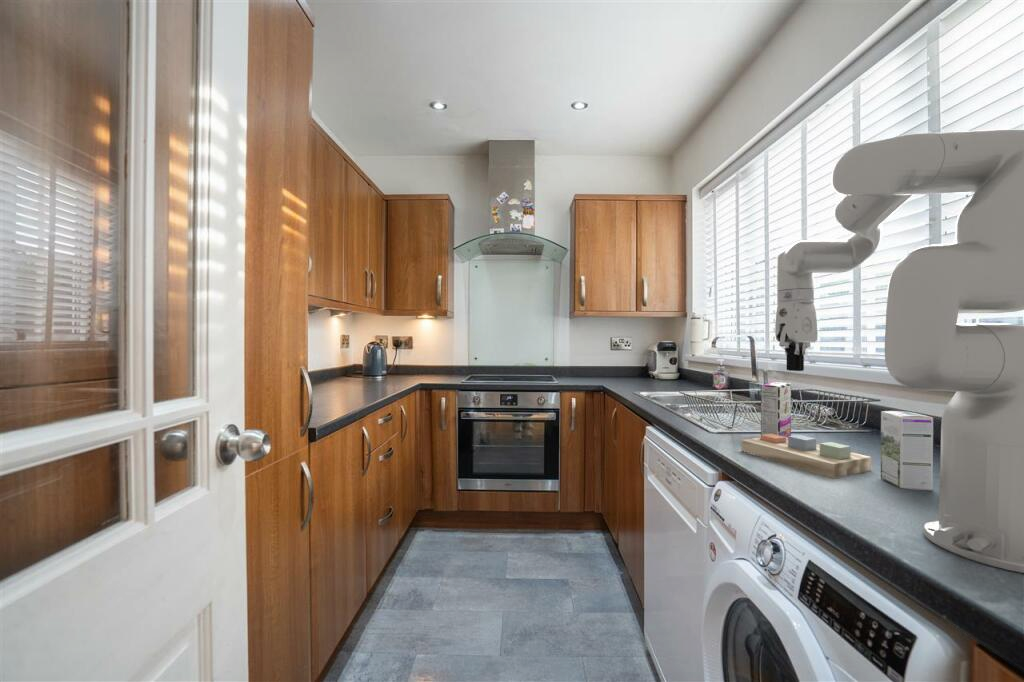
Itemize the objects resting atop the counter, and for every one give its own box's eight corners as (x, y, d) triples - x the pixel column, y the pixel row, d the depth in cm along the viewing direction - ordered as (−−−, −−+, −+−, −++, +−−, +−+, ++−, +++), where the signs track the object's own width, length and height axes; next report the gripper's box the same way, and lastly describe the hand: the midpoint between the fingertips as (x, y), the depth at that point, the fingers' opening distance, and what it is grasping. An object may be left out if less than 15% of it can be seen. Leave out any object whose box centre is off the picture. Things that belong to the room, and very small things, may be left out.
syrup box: (934, 491, 77) (936, 416, 77) (898, 488, 78) (900, 415, 78) (911, 480, 83) (912, 411, 82) (878, 478, 84) (879, 409, 84)
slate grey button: (805, 452, 93) (805, 440, 93) (788, 448, 97) (788, 436, 97) (816, 451, 95) (816, 438, 95) (798, 446, 98) (798, 434, 98)
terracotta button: (775, 450, 100) (775, 438, 100) (760, 446, 103) (760, 434, 103) (786, 448, 101) (786, 437, 101) (770, 444, 105) (770, 433, 105)
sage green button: (839, 461, 87) (840, 448, 87) (819, 456, 90) (819, 443, 90) (850, 459, 88) (850, 446, 88) (830, 454, 92) (830, 441, 92)
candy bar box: (771, 435, 120) (772, 381, 120) (791, 438, 117) (792, 383, 116) (759, 441, 113) (760, 384, 113) (779, 445, 109) (780, 385, 109)
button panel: (833, 478, 83) (833, 464, 83) (741, 451, 103) (741, 439, 103) (871, 470, 89) (871, 457, 89) (777, 446, 108) (777, 435, 108)
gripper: (792, 294, 94) (792, 371, 94) (829, 298, 100) (829, 371, 100) (761, 297, 101) (761, 370, 101) (797, 301, 107) (797, 369, 107)
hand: (795, 370), depth 100 cm, fingers closed
